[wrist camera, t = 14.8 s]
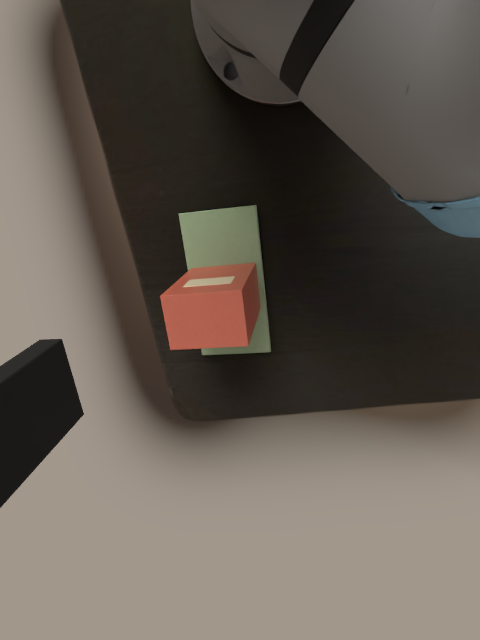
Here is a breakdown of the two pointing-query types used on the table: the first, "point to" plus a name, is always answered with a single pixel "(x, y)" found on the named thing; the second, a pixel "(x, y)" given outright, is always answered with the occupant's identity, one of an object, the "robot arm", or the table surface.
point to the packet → (212, 307)
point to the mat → (228, 258)
